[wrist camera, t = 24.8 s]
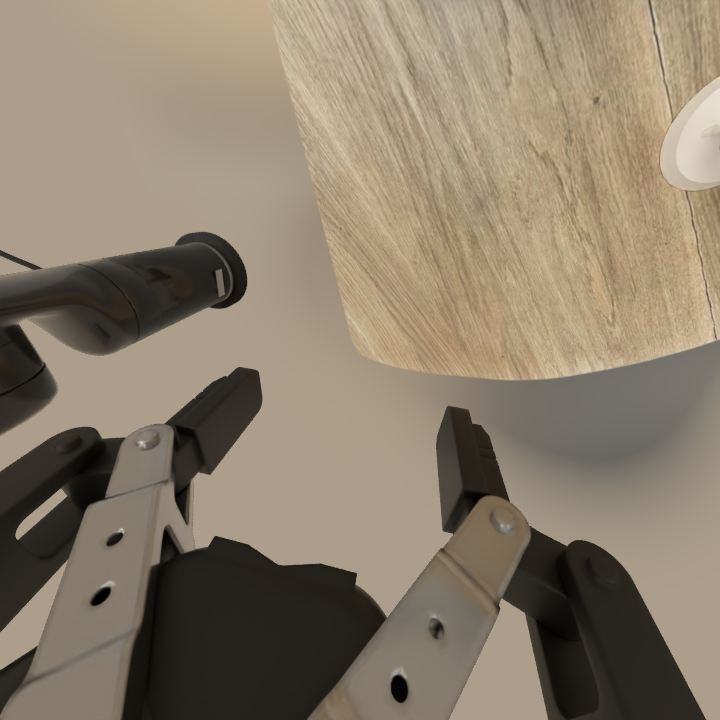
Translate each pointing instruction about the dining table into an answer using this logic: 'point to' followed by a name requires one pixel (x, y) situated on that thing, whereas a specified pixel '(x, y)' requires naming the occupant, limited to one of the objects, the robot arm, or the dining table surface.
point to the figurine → (694, 143)
